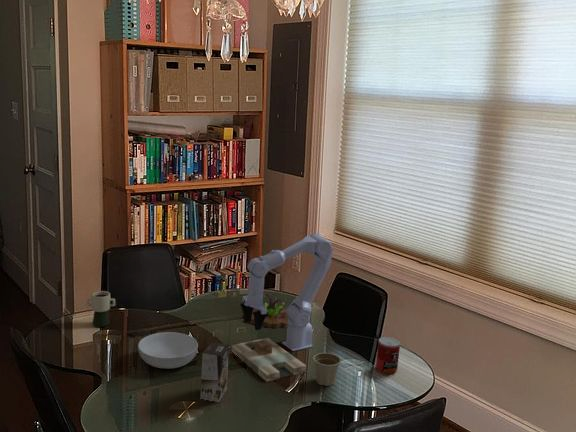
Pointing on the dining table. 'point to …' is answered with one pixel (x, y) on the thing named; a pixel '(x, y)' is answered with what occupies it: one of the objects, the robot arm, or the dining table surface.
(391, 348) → the canned food
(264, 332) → the dining table surface
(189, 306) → the dining table surface
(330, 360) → the flower pot
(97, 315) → the character mug
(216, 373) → the coffee box
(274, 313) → the plant
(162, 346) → the serving bowl
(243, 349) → the cream slotted board
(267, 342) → the walnut block
